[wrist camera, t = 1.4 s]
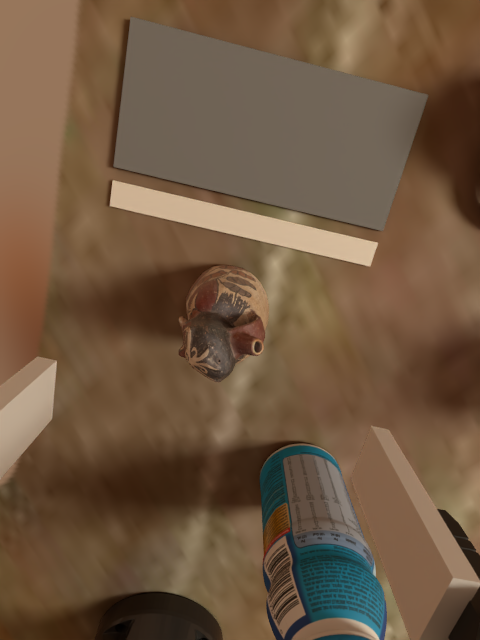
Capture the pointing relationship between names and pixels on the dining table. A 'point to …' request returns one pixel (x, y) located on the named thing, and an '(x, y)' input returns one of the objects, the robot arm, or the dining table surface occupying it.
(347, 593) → the beverage bottle
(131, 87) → the mat
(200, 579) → the dining table surface
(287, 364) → the dining table surface
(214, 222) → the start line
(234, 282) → the figurine
